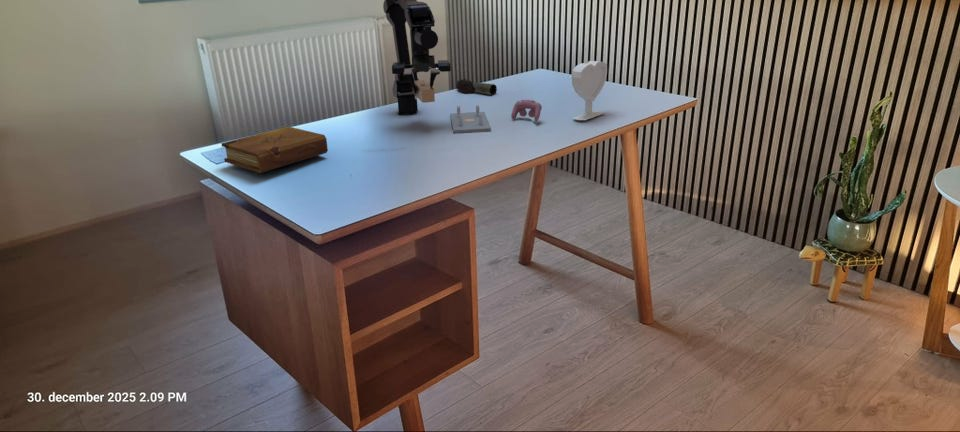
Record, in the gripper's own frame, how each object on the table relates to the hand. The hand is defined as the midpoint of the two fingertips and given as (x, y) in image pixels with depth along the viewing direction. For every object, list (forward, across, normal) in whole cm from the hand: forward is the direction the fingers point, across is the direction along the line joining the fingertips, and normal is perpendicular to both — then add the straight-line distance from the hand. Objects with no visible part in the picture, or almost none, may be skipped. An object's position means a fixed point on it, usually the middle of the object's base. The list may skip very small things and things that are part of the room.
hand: (423, 93), depth 219 cm
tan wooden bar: (+1, 0, 0) cm, 1 cm away
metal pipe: (+14, +25, +40) cm, 49 cm away
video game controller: (+11, +34, 0) cm, 36 cm away
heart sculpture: (+11, +56, +2) cm, 57 cm away
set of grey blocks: (+11, +15, 0) cm, 18 cm away
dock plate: (+11, +15, 0) cm, 18 cm away
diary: (+12, -44, -25) cm, 52 cm away
